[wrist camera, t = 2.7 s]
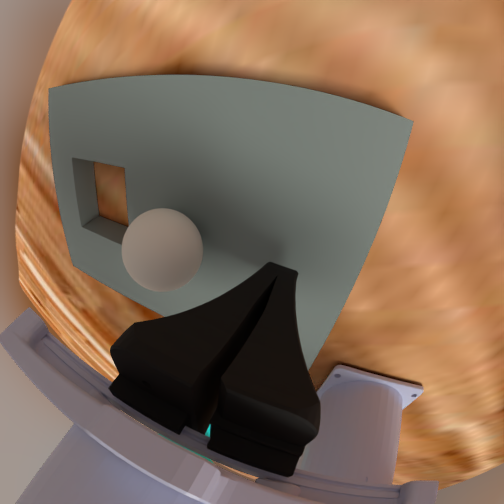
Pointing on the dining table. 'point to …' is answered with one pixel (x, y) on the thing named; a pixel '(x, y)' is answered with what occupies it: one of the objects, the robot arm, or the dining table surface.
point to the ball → (162, 250)
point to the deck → (229, 182)
